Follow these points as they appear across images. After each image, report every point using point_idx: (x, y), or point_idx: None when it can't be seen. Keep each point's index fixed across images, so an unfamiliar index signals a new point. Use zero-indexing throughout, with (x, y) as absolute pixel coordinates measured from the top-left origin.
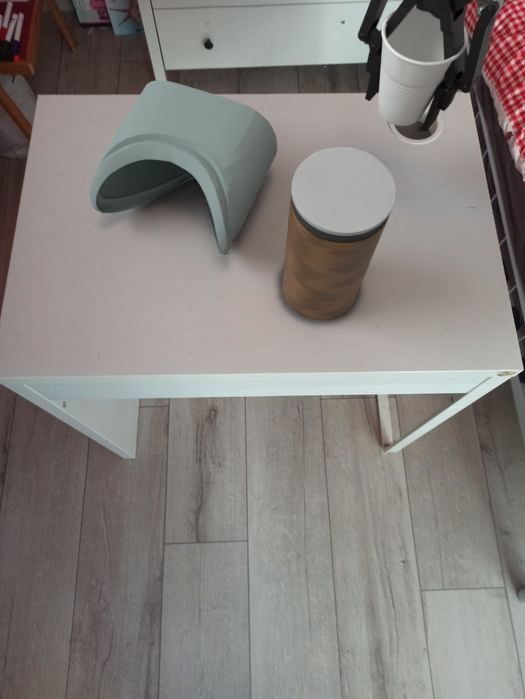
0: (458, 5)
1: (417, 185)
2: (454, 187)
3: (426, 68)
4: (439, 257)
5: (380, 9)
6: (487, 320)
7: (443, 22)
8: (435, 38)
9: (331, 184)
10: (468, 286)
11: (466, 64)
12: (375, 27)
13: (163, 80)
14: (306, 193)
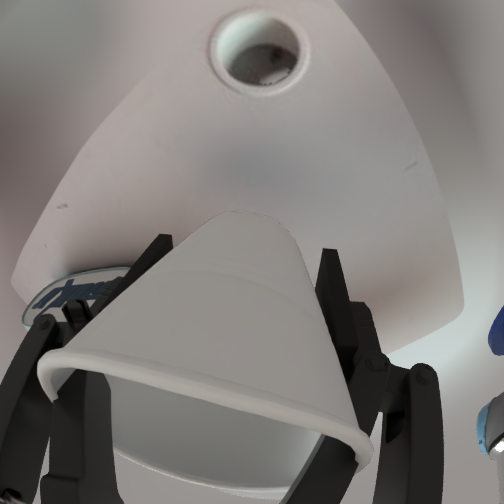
0: None
1: (327, 165)
2: (379, 141)
3: (273, 475)
4: (392, 257)
5: (40, 410)
6: (446, 293)
7: None
8: (207, 289)
9: (255, 493)
10: (427, 272)
11: (379, 470)
12: (55, 342)
13: (24, 325)
14: (241, 494)
